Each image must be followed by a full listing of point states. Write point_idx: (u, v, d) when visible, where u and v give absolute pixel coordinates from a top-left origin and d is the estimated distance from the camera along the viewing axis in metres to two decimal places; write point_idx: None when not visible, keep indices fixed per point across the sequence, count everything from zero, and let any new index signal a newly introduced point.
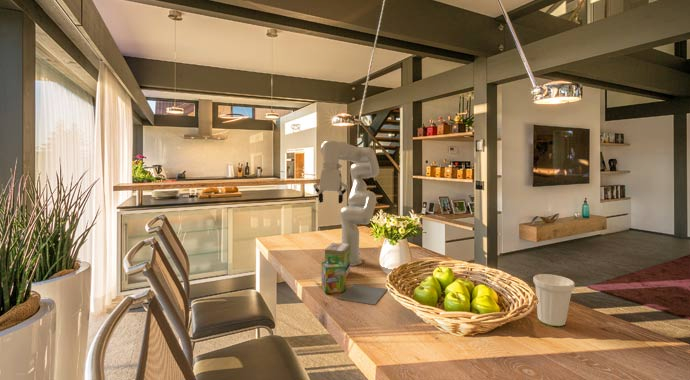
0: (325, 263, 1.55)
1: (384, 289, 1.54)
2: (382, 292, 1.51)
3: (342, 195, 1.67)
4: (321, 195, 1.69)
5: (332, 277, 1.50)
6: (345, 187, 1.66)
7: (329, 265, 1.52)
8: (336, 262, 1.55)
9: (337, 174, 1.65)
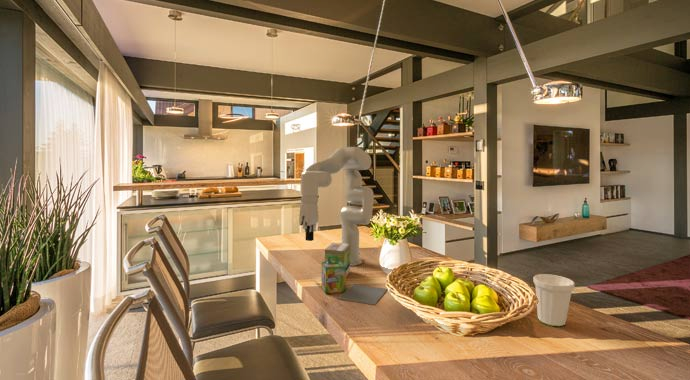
0: (325, 263, 1.55)
1: (384, 289, 1.54)
2: (382, 292, 1.51)
3: None
4: None
5: (332, 277, 1.50)
6: (315, 224, 1.60)
7: (329, 265, 1.52)
8: (336, 262, 1.55)
9: (317, 206, 1.59)
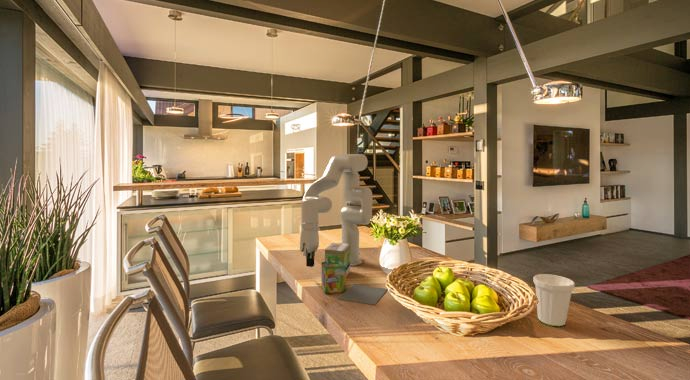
0: (325, 263, 1.55)
1: (384, 289, 1.54)
2: (382, 292, 1.51)
3: None
4: None
5: (332, 277, 1.50)
6: (315, 249, 1.62)
7: (329, 265, 1.52)
8: (336, 262, 1.55)
9: None
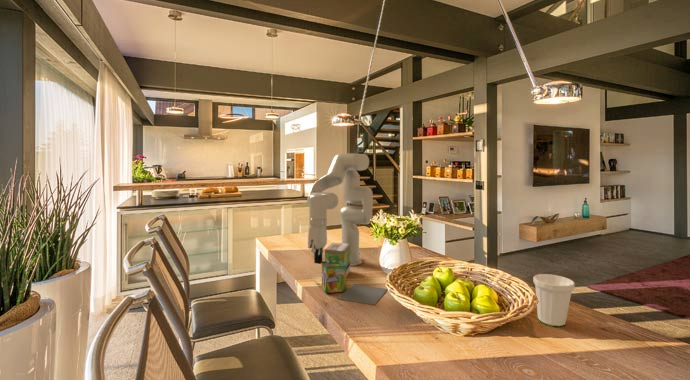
0: (326, 262, 1.55)
1: (384, 289, 1.54)
2: (382, 292, 1.51)
3: None
4: None
5: (333, 277, 1.50)
6: (323, 246, 1.60)
7: (330, 265, 1.52)
8: (337, 262, 1.55)
9: None
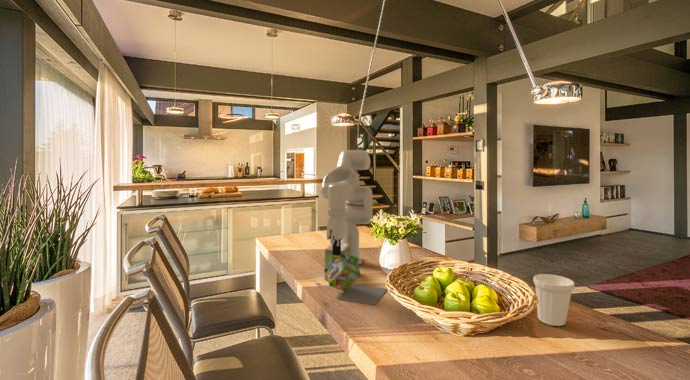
0: (344, 258, 1.51)
1: (384, 289, 1.54)
2: (382, 292, 1.51)
3: None
4: None
5: (344, 277, 1.48)
6: (341, 237, 1.56)
7: (348, 264, 1.48)
8: (354, 263, 1.51)
9: (344, 219, 1.54)
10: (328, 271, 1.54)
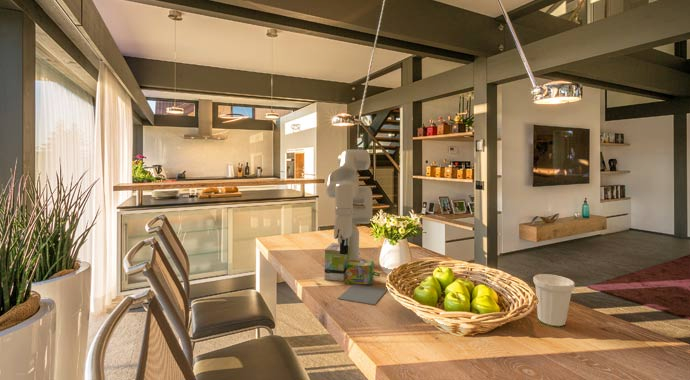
0: None
1: (384, 289, 1.54)
2: (382, 292, 1.51)
3: None
4: None
5: (363, 262, 1.66)
6: (348, 236, 1.55)
7: None
8: (373, 273, 1.62)
9: (351, 218, 1.53)
10: None
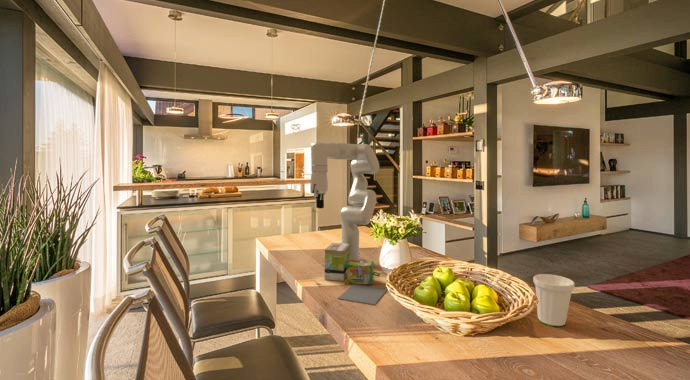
0: None
1: (384, 289, 1.54)
2: (382, 292, 1.51)
3: None
4: None
5: (363, 262, 1.66)
6: (324, 193, 1.70)
7: None
8: (373, 273, 1.62)
9: (326, 176, 1.68)
10: None
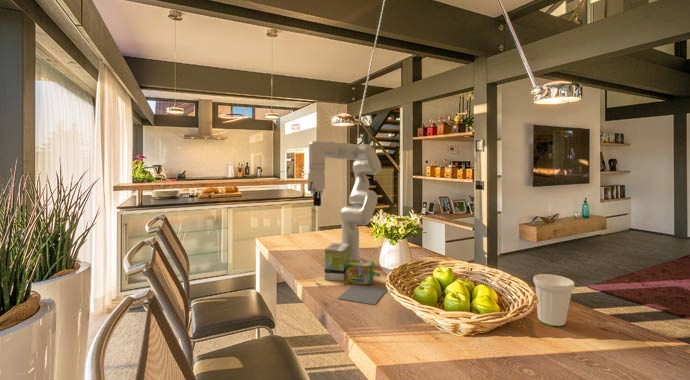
0: None
1: (384, 289, 1.54)
2: (382, 292, 1.51)
3: None
4: None
5: (363, 262, 1.66)
6: (322, 191, 1.71)
7: None
8: (373, 273, 1.62)
9: (324, 174, 1.70)
10: None
